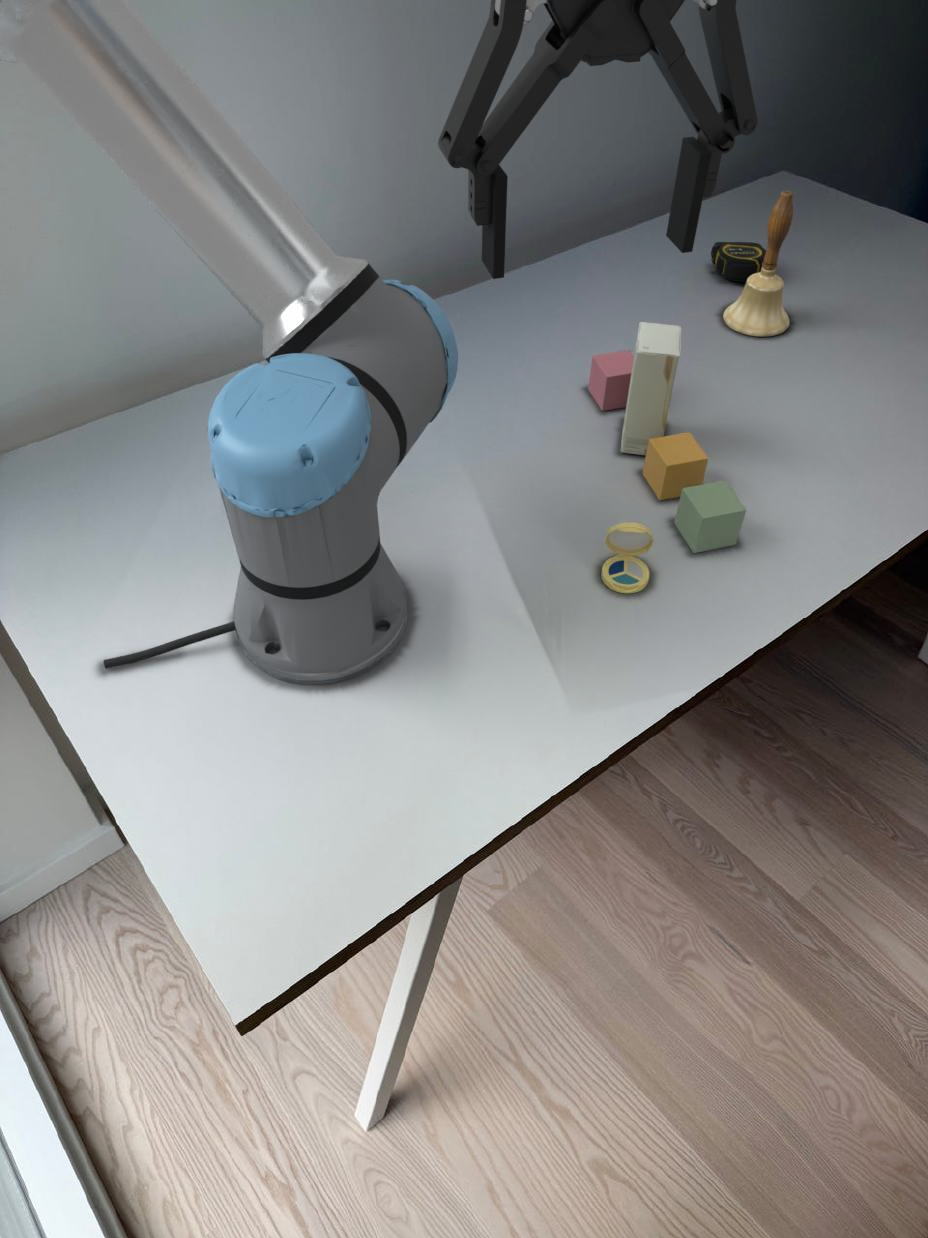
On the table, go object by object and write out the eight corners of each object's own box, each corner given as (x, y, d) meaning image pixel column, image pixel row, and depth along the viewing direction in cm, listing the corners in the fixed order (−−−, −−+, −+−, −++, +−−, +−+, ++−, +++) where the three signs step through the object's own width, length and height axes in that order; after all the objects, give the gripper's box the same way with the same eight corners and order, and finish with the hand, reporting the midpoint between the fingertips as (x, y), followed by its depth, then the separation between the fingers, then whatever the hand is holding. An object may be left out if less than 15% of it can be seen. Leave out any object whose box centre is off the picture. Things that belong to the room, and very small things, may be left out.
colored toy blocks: (693, 553, 86) (702, 518, 82) (587, 389, 104) (592, 355, 101) (735, 544, 87) (746, 509, 83) (623, 383, 105) (629, 349, 101)
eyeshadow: (600, 590, 82) (606, 552, 79) (602, 553, 86) (608, 514, 82) (648, 595, 82) (657, 557, 78) (648, 557, 85) (656, 519, 82)
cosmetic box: (660, 458, 95) (680, 357, 86) (619, 454, 96) (635, 353, 87) (662, 423, 100) (682, 323, 90) (623, 419, 100) (639, 319, 91)
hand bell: (721, 332, 112) (751, 204, 100) (724, 300, 118) (753, 174, 106) (788, 341, 111) (827, 212, 99) (789, 307, 116) (826, 181, 104)
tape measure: (757, 264, 124) (764, 237, 121) (766, 288, 120) (773, 261, 117) (708, 263, 124) (713, 236, 122) (715, 287, 120) (721, 260, 117)
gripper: (408, -123, 41) (424, 307, 57) (888, -149, 45) (778, 257, 61) (375, -151, 45) (398, 253, 61) (812, -171, 50) (728, 211, 66)
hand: (587, 256), depth 61 cm, fingers open, 13 cm apart
